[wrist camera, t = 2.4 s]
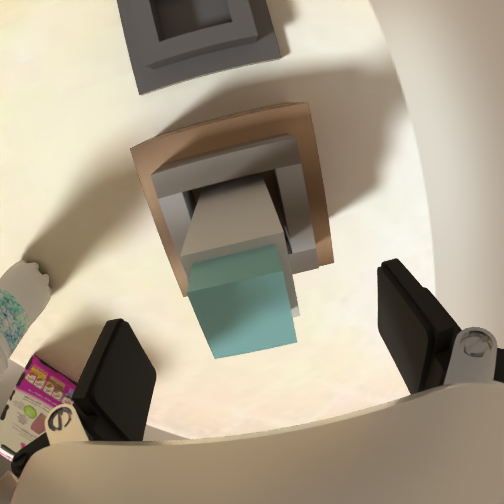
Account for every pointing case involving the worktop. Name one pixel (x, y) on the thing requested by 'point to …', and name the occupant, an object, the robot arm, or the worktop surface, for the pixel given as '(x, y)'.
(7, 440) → the candy bar box
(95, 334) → the worktop surface
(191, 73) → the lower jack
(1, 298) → the bottle
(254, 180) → the plug
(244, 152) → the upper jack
